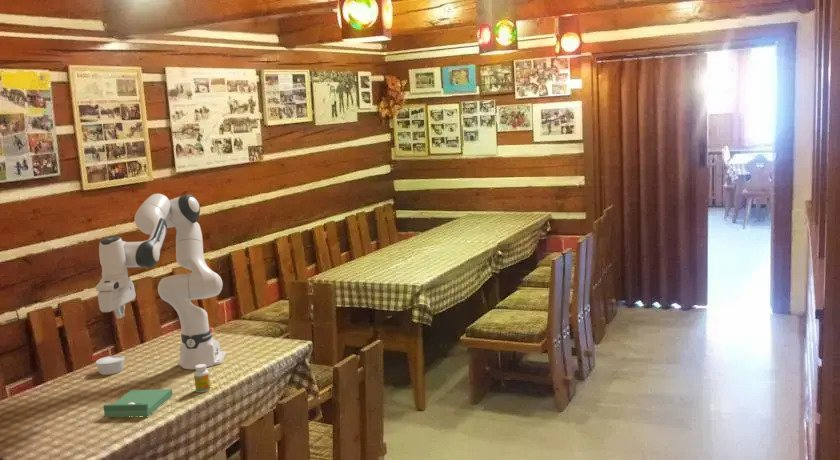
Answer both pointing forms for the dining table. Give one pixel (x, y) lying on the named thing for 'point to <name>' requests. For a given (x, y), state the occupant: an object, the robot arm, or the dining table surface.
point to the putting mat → (138, 403)
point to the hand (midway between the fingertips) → (120, 317)
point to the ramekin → (110, 365)
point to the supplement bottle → (201, 378)
